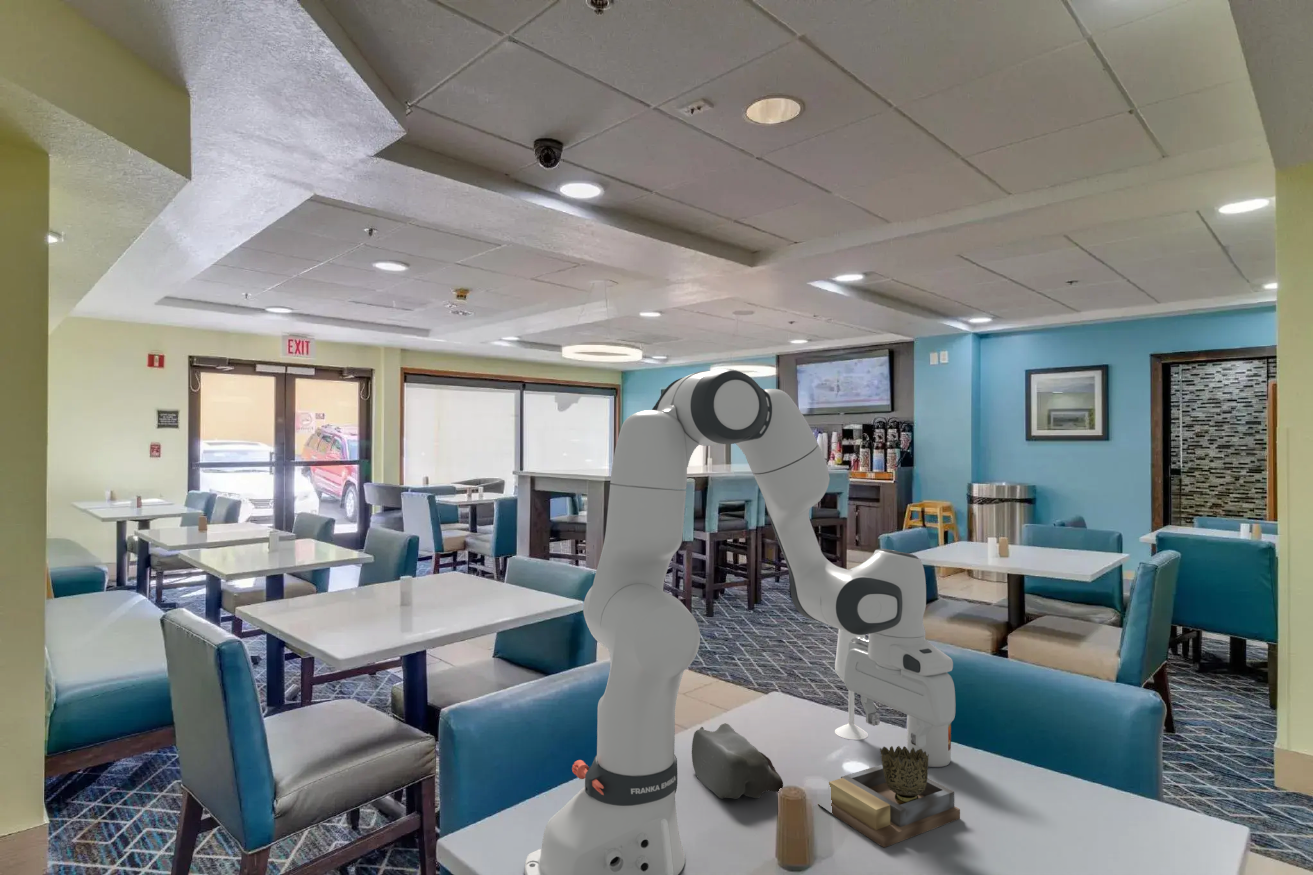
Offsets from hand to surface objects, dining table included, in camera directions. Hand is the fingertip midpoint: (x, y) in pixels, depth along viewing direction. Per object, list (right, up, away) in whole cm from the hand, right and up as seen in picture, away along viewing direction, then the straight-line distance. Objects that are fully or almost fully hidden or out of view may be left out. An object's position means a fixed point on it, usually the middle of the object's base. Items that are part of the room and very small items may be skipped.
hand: (894, 734), depth 114 cm
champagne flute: (+1, -13, +30) cm, 33 cm away
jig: (-1, -12, -1) cm, 12 cm away
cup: (+1, -11, -2) cm, 11 cm away
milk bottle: (+13, -13, +18) cm, 26 cm away
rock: (-25, -12, +9) cm, 30 cm away
